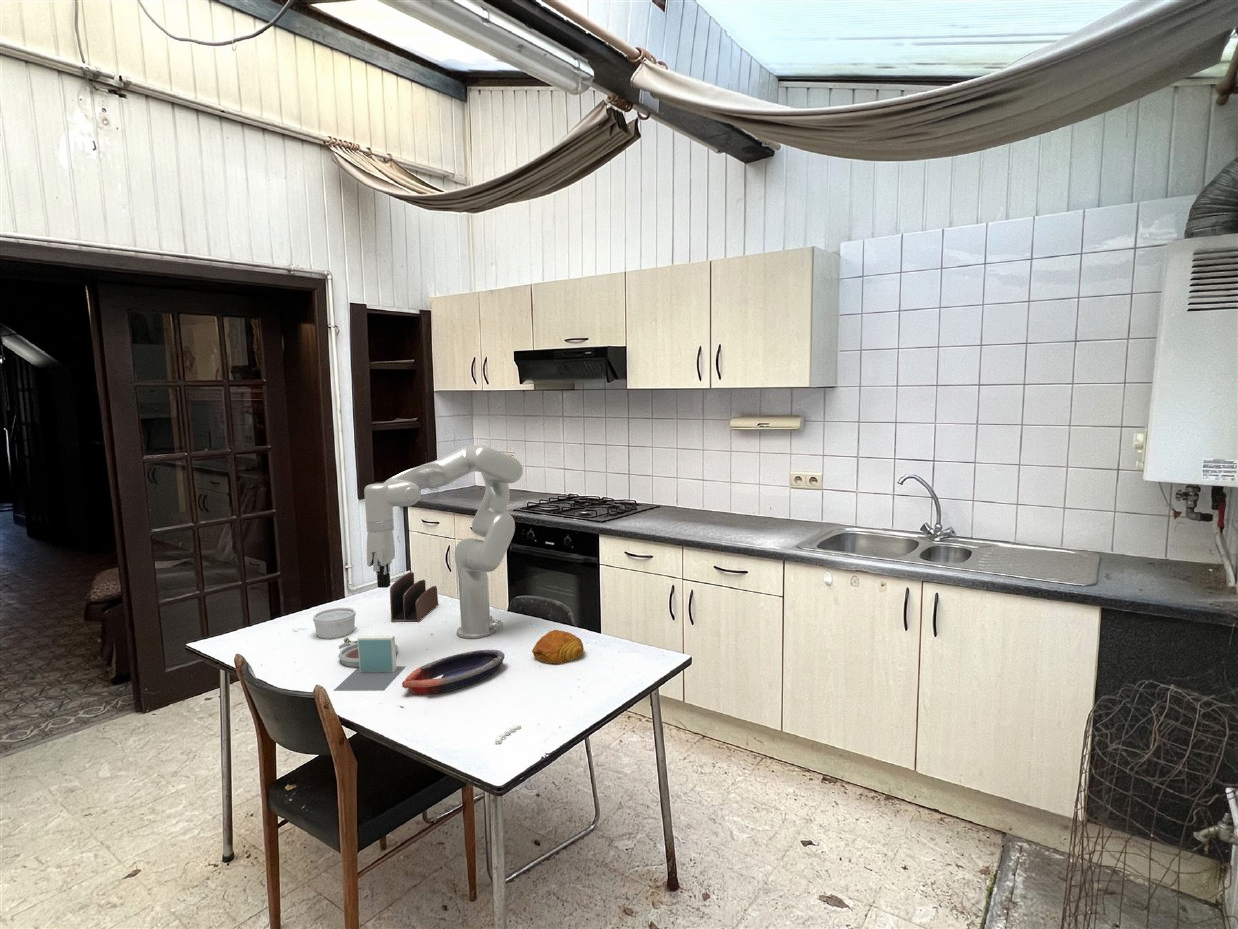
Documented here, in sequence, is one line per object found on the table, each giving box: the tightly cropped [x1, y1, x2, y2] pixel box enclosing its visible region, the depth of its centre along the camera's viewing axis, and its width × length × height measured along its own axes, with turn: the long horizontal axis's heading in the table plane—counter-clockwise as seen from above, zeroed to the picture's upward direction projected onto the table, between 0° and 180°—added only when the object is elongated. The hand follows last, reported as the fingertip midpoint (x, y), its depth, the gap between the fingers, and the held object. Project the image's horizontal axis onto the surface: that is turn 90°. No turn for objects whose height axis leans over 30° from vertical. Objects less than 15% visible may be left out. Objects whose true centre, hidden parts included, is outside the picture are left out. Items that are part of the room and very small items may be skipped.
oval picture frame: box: [338, 636, 399, 668], centre depth 208 cm, size 17×3×28 cm
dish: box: [401, 649, 506, 695], centre depth 187 cm, size 16×31×5 cm, turn 130°
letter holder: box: [389, 572, 439, 623], centre depth 245 cm, size 10×20×14 cm, turn 174°
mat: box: [332, 665, 407, 692], centre depth 189 cm, size 14×16×1 cm
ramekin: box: [312, 607, 356, 640], centre depth 227 cm, size 13×13×7 cm
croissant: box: [531, 629, 584, 665], centre depth 203 cm, size 14×16×8 cm
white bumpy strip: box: [493, 723, 524, 744], centre depth 155 cm, size 15×4×2 cm, turn 150°
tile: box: [356, 635, 397, 672], centre depth 193 cm, size 10×2×10 cm, turn 87°
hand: (384, 586), depth 199 cm, fingers closed
